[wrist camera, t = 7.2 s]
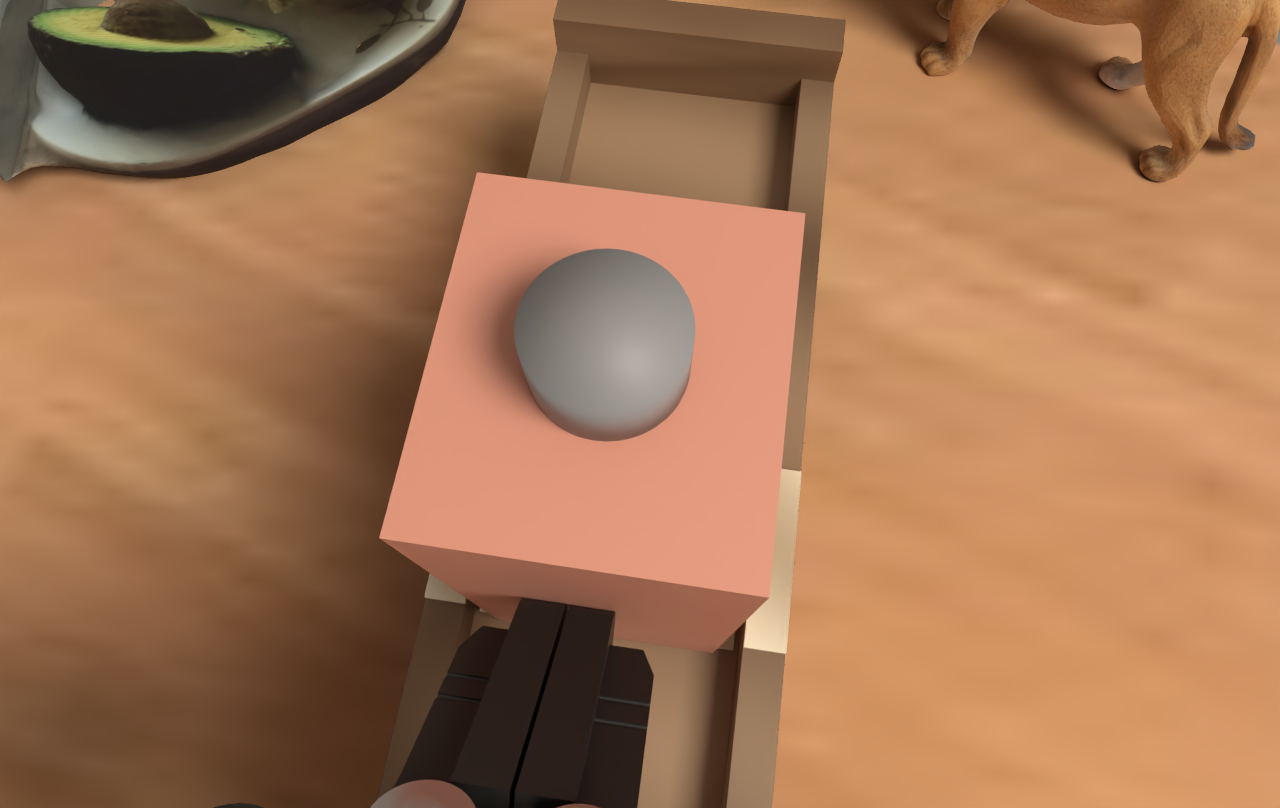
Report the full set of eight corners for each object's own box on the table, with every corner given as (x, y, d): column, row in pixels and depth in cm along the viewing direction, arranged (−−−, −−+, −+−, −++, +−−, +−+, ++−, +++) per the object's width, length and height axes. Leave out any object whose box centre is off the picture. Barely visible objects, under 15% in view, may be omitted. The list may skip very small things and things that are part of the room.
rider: (712, 653, 16) (784, 583, 8) (497, 619, 17) (349, 517, 8) (739, 420, 18) (820, 165, 10) (544, 393, 18) (461, 120, 10)
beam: (678, 1336, 17) (702, 1768, 10) (350, 1269, 17) (152, 1638, 10) (793, 202, 27) (845, 20, 20) (582, 176, 27) (560, -12, 20)
